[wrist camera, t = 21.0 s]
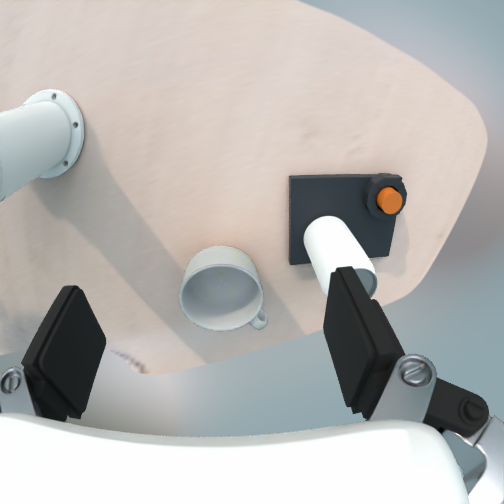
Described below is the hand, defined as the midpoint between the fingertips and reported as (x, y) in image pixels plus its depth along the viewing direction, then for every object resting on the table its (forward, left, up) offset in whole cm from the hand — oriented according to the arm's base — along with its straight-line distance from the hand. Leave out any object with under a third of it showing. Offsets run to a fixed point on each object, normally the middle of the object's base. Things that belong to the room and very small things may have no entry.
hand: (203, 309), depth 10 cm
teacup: (-1, -19, -28) cm, 34 cm away
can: (+13, -13, -27) cm, 33 cm away
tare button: (+21, -7, -26) cm, 34 cm away
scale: (+16, -11, -28) cm, 34 cm away
